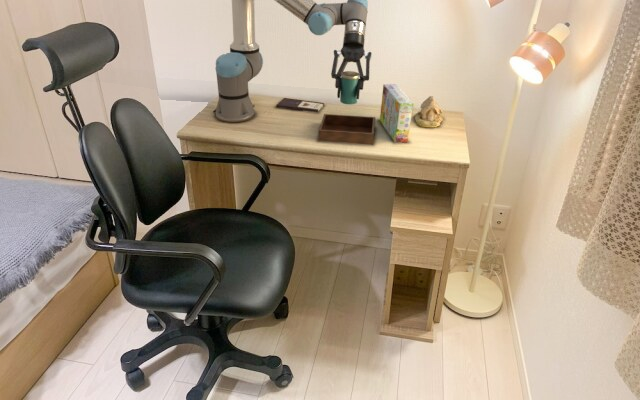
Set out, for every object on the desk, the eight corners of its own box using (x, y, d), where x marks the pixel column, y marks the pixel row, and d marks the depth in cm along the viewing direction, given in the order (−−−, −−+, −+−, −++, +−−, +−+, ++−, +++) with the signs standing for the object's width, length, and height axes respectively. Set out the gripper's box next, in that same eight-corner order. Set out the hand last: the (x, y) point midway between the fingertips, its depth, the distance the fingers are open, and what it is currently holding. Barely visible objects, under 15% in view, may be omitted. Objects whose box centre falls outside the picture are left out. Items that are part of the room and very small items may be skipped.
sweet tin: (338, 103, 169) (340, 76, 164) (340, 97, 174) (341, 70, 169) (356, 105, 168) (358, 77, 163) (357, 98, 174) (359, 71, 168)
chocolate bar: (284, 97, 207) (323, 102, 202) (284, 99, 207) (323, 105, 203) (276, 104, 199) (317, 110, 195) (276, 107, 200) (317, 112, 195)
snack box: (409, 142, 173) (414, 102, 165) (394, 143, 172) (398, 103, 164) (392, 119, 191) (396, 82, 183) (378, 120, 190) (381, 83, 182)
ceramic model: (414, 113, 197) (417, 89, 191) (442, 115, 195) (445, 91, 190) (414, 127, 185) (418, 102, 179) (444, 129, 183) (448, 104, 178)
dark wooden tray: (318, 141, 173) (318, 130, 170) (323, 124, 186) (324, 113, 183) (372, 145, 171) (373, 134, 168) (374, 127, 184) (375, 117, 181)
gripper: (327, 30, 169) (320, 90, 164) (381, 32, 167) (375, 94, 162) (328, 41, 176) (321, 99, 171) (380, 44, 174) (375, 103, 169)
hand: (348, 96), depth 167 cm, fingers closed on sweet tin, 6 cm apart
